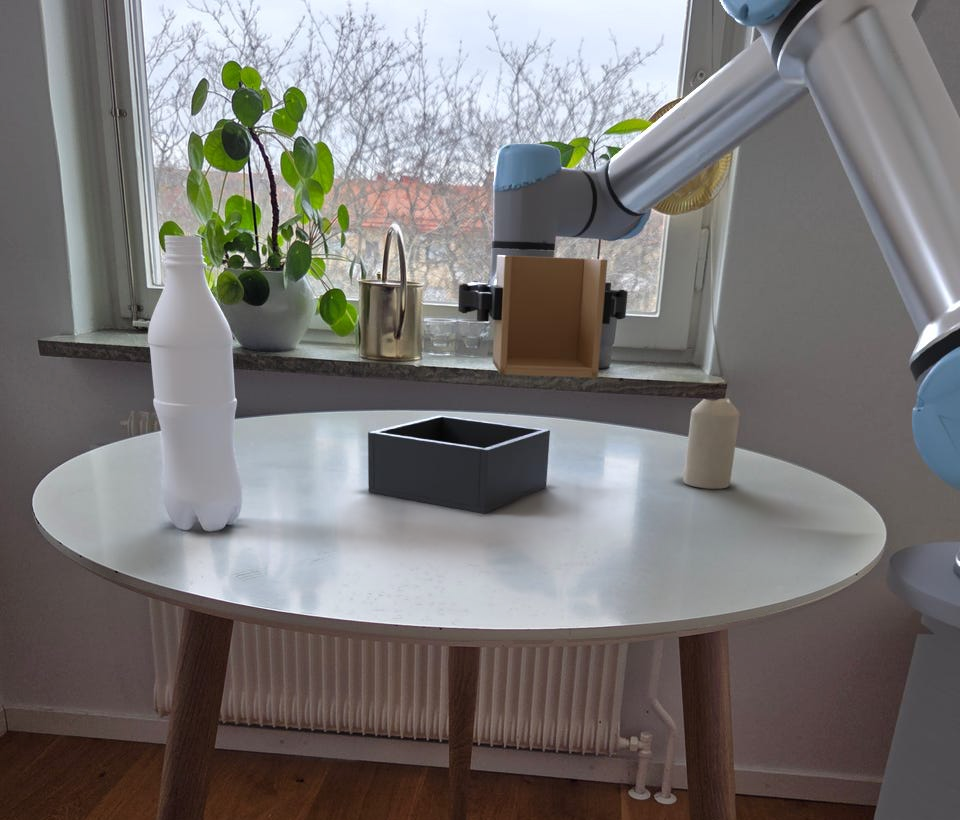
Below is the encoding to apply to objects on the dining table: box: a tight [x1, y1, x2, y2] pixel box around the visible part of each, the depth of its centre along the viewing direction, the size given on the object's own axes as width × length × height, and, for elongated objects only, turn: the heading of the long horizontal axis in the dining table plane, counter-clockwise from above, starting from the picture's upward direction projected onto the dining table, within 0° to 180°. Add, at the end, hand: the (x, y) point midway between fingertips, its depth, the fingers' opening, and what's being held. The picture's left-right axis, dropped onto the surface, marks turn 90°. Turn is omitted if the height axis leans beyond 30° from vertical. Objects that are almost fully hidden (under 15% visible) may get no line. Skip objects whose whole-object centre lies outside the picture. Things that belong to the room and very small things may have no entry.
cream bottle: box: [682, 398, 741, 490], centre depth 110 cm, size 6×6×10 cm
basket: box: [367, 414, 551, 514], centre depth 103 cm, size 15×15×6 cm
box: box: [492, 255, 608, 379], centre depth 88 cm, size 10×9×10 cm
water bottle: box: [147, 234, 243, 532], centre depth 83 cm, size 7×7×25 cm
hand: (552, 305), depth 83 cm, fingers closed on box, 9 cm apart
